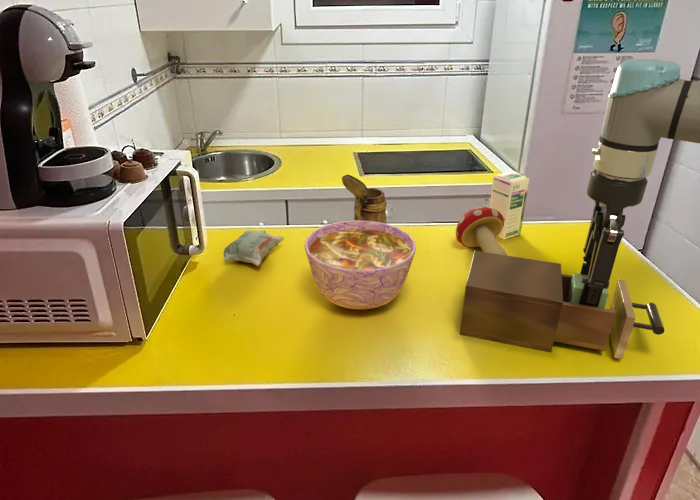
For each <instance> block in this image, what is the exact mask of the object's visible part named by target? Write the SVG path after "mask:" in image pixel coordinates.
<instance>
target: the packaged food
mask: <svg viewBox="0 0 700 500" xmlns="http://www.w3.org/2000/svg"><path fill="white" fill-rule="evenodd" d="M284 238H285V237H284V236H281V235H280V236H276V235H273V234H271V233H268V232H266V230H245V231H244V232H243V233H242V234H241V235H240V236H238V237H237V238H236V239H235V240H233V241H231V243H229V244H228V245H227V246H225V247H224V250H223V261H225V262H228V261H230V260H231V261H236V262H241V263H246V264H253V265H254V266H257V267H259V266H260V265H261V263H262V261H263V260H264V258H265V257H266V256H267V255H269V254H270V253H271V252H272V251H273V250H274V249H275V248H277V247H278V246H279V245H280V243H282V242H283V241H284V240H285V239H284Z"/></svg>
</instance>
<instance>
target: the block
mask: <svg viewBox="0 0 700 500" xmlns="http://www.w3.org/2000/svg"><path fill="white" fill-rule="evenodd" d="M571 275H572V279H571V283H570V287H569V292H568V296H567V302H569V303H575V304H579V301H580V298H581V294H582V290H583V286H584V283H582V278H584V279H587V278H588V275H583V274H580V273H578V272H577V273H576V272H573V273H572V274H571ZM608 297H609V287H608V288H607V289H604V288H603V291H602V295H601V298H600V302H599V306H598V308H604V309H606V304H607V300H608Z"/></svg>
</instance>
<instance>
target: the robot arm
mask: <svg viewBox="0 0 700 500" xmlns="http://www.w3.org/2000/svg"><path fill="white" fill-rule="evenodd" d="M607 97H608V98H607V103H606V108H605V112H604V117H603V120H602V126H601V130H600V134H599V138H598V145H597V146H598V147H593V148H592V149H591V154H592V155H595V157H594V161H593V164H592V166H593V168H594V169H593V170H592V171H591V172H590V176H589V180H588V184H587V188H586V195H587V196H588V198H590V200H593V201H594V206H593V209H592V216H591V219H590V223H589V224H590V225H589V227H588V232H587V236H586V240H585V243H584V247H583V249H582V251H583V256H582V259H583V262H582V264H581V269H580V272H579V274H583V275H588V278H587V279H584V278H582V283H584V286H583V290H582V294H581V298H580V301H579V304H581V305H587V306H593V307H598V306H599V302H600V298H601V295H602V291H603V288H604V289H607V287H608V285H609V286H610V280H611V276H612V272H613V269H614V266H615V261H616V258H617V255H618V251H619V247H620V245H621V242H622V239H623V237H624V236H625V231H624V229H622V228H623V227H624V225H625V222H626V215H625V214H624V209H626V208H629V207H631V208H632V207H636V206H638V205H640V204H641V203H642V202H643V199H644V195H645V192H646V189H647V185H648V179H647V178H648V177H649V176H650V175H651V172H652V170H653V167H654V163H655V159H656V157H657V154H658V150H659V145H660V140H661V139H662V138H663V139H667V140H675V141H682V142H687V143H694V144H700V81H693V80H687V79H684V78H681V65H680V64H679V63H677V62H675V61H670V60H662V59H654V58H631V59H626V60H624V61H623V62H621V63H620V64H619V65H618V67H617V68H616V72H615V74H614V79H613V82H612V86H611V89H610V92H609V93H608V96H607ZM608 283H609V284H608ZM608 288H609V287H608Z"/></svg>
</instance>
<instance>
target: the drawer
mask: <svg viewBox="0 0 700 500" xmlns="http://www.w3.org/2000/svg"><path fill="white" fill-rule="evenodd" d="M572 275H573V274H565V273H561V276H562V292H563V305H562V309H561V313H560V317H559V321H558V326H557V330H556V334H555V338H554V342H556V343H561V344H567V345H572V346H577V347H582V348H588V349H593V350H597V351H598V350H599V351H603V352H604V351H606V348H607V345H608V341H609V338H610V342H611V347H612V351H613V356H614V358H615V359H621V360H623V359H624V356H625V353H626V349H627V347H628V343H629V340H630V337H631V334H632V332H633V329H634V328H637V329H641V330H642V329H643V330H648V331H652V333H653V334H655V335H656V336H657V335H658V336H660V335H663V334H664V333H665V327H664V324H663V321H662V318H661V315H660V313H659V309H658V306H657V304H656V303H655V302H648V303H646V304H642V303H637V302H632V299H631V296H630V292H629V288H628V284H627V281H626V280H625V279H620V278H617V281H616V284H615V288H614V291H613V295H612V297H611V302H610V305H609V308H598V307H593V306H587V305H581V304H575V303H569V302H567V296H568V292H569V287H570V283H571V279H572ZM608 284H609V285H608V287H607V288H608V289H609V287H610V282H609V283H608ZM634 309H639V310H645V311H646V315H647V317H648V320H649V323H650V324H647V323H641V322H636V319H637V317H636V313H635V310H634Z"/></svg>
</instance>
